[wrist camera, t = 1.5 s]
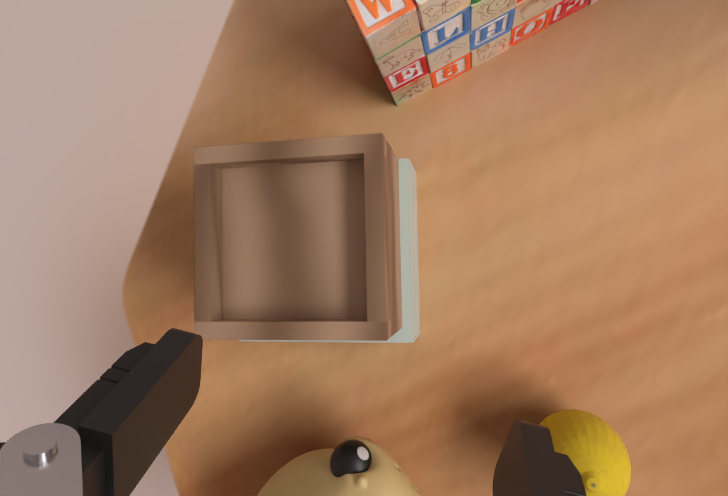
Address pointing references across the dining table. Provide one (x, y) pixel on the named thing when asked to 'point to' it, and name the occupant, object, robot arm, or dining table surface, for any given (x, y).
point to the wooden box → (297, 240)
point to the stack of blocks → (446, 35)
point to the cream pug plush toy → (342, 473)
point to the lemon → (591, 451)
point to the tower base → (402, 260)
